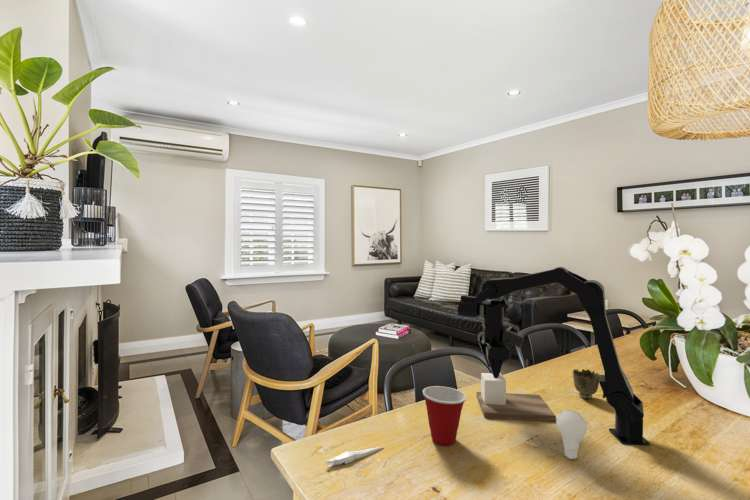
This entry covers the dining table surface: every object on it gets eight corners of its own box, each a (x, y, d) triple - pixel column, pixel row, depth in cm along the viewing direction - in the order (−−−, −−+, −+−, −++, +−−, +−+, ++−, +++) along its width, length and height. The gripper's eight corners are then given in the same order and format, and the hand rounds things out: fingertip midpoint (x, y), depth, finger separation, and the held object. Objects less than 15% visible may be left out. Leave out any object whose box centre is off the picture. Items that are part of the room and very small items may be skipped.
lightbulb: (559, 448, 89) (560, 402, 89) (588, 457, 85) (589, 409, 85) (552, 459, 85) (553, 411, 84) (583, 470, 81) (583, 420, 80)
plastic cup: (476, 443, 91) (476, 394, 91) (442, 457, 86) (443, 405, 85) (445, 424, 101) (445, 380, 100) (413, 436, 95) (413, 389, 95)
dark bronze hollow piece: (592, 393, 121) (593, 368, 121) (604, 403, 114) (604, 377, 114) (568, 392, 122) (568, 368, 122) (578, 402, 114) (578, 376, 114)
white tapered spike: (328, 471, 81) (328, 462, 81) (323, 464, 83) (323, 456, 83) (386, 453, 88) (387, 445, 88) (380, 448, 91) (381, 440, 91)
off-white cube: (505, 404, 109) (505, 381, 109) (484, 403, 110) (484, 380, 110) (501, 396, 115) (501, 373, 115) (481, 395, 116) (481, 373, 116)
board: (555, 421, 103) (555, 415, 103) (484, 417, 105) (484, 412, 105) (539, 399, 116) (539, 394, 116) (476, 396, 119) (476, 392, 119)
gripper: (530, 328, 102) (530, 385, 102) (513, 315, 120) (512, 363, 121) (488, 327, 103) (488, 383, 104) (477, 314, 122) (477, 361, 122)
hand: (492, 372), depth 113 cm, fingers open, 9 cm apart
